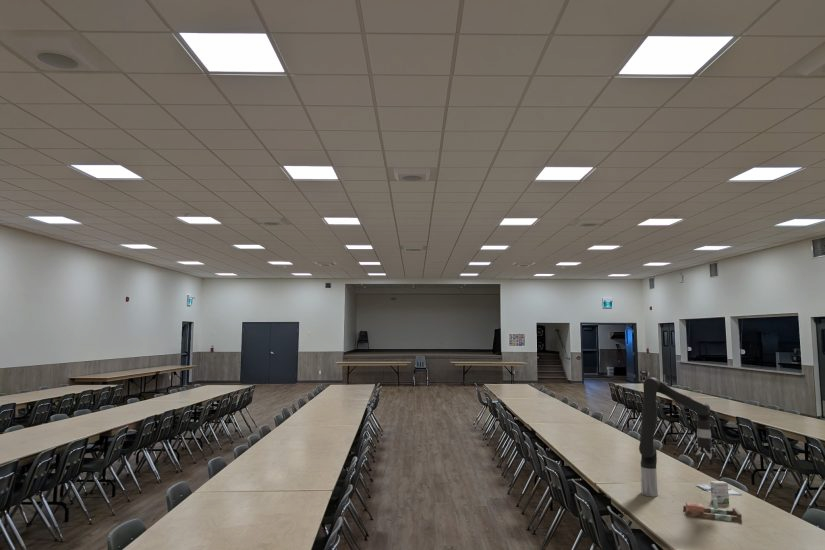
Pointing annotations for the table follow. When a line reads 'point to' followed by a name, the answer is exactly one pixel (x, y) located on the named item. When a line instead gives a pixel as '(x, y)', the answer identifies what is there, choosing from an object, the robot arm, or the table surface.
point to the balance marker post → (715, 503)
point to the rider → (694, 507)
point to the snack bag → (708, 488)
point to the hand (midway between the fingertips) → (705, 463)
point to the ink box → (719, 491)
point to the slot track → (717, 514)
